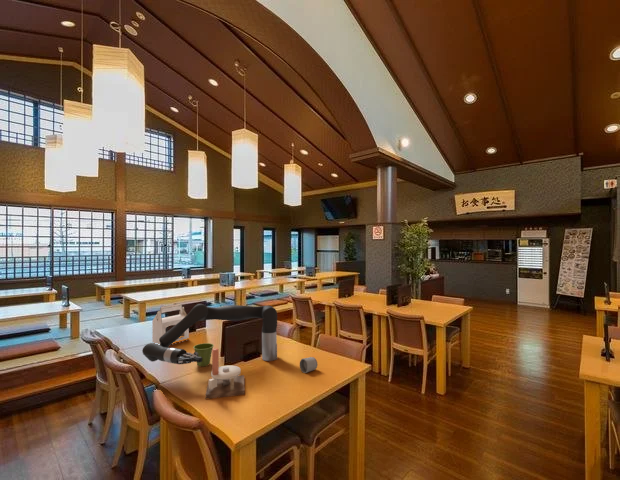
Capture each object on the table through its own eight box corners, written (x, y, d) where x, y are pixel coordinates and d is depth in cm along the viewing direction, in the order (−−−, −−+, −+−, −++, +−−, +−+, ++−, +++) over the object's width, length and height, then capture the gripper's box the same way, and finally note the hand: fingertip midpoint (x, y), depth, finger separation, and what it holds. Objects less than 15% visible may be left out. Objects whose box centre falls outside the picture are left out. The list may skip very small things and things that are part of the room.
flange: (240, 374, 163) (240, 341, 164) (240, 386, 149) (240, 350, 150) (211, 377, 160) (211, 343, 161) (208, 389, 146) (208, 353, 146)
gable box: (161, 347, 220) (161, 308, 221) (151, 344, 227) (151, 306, 228) (189, 339, 238) (189, 303, 239) (179, 336, 246) (179, 302, 246)
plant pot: (207, 369, 180) (207, 349, 180) (189, 367, 182) (189, 348, 182) (217, 361, 191) (217, 343, 191) (200, 360, 194) (200, 342, 194)
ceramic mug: (318, 370, 175) (318, 357, 175) (307, 374, 170) (307, 360, 170) (306, 365, 183) (306, 352, 183) (296, 369, 178) (295, 356, 178)
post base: (244, 378, 165) (244, 364, 166) (244, 394, 148) (244, 377, 148) (209, 382, 162) (209, 367, 162) (205, 398, 144) (205, 381, 144)
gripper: (165, 352, 155) (192, 356, 149) (184, 344, 167) (210, 348, 161) (165, 367, 155) (192, 372, 149) (184, 358, 167) (210, 362, 161)
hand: (201, 359), depth 155 cm, fingers closed
